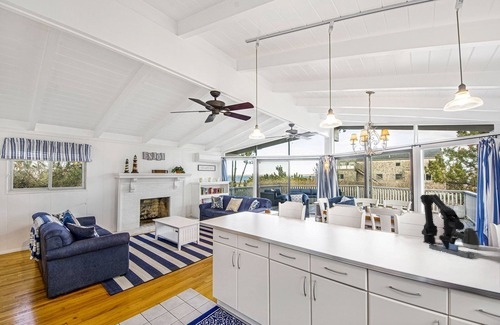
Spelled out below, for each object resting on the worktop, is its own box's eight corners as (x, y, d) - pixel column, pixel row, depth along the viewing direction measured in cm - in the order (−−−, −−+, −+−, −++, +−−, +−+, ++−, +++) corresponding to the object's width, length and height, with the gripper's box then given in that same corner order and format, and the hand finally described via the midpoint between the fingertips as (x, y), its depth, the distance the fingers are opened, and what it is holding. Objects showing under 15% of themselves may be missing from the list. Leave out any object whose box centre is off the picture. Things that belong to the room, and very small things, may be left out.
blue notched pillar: (442, 251, 160) (442, 243, 160) (444, 250, 162) (443, 242, 162) (457, 254, 153) (456, 246, 153) (458, 253, 155) (458, 245, 155)
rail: (428, 248, 166) (428, 245, 166) (431, 247, 169) (431, 243, 169) (471, 258, 145) (471, 255, 146) (474, 257, 148) (474, 253, 149)
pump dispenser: (475, 250, 161) (473, 229, 162) (458, 246, 171) (457, 226, 172) (484, 249, 164) (483, 229, 165) (467, 245, 174) (466, 225, 175)
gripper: (458, 230, 147) (460, 254, 146) (468, 227, 156) (470, 249, 155) (438, 227, 156) (439, 249, 155) (448, 224, 166) (449, 245, 165)
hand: (450, 248), depth 157 cm, fingers open, 9 cm apart
